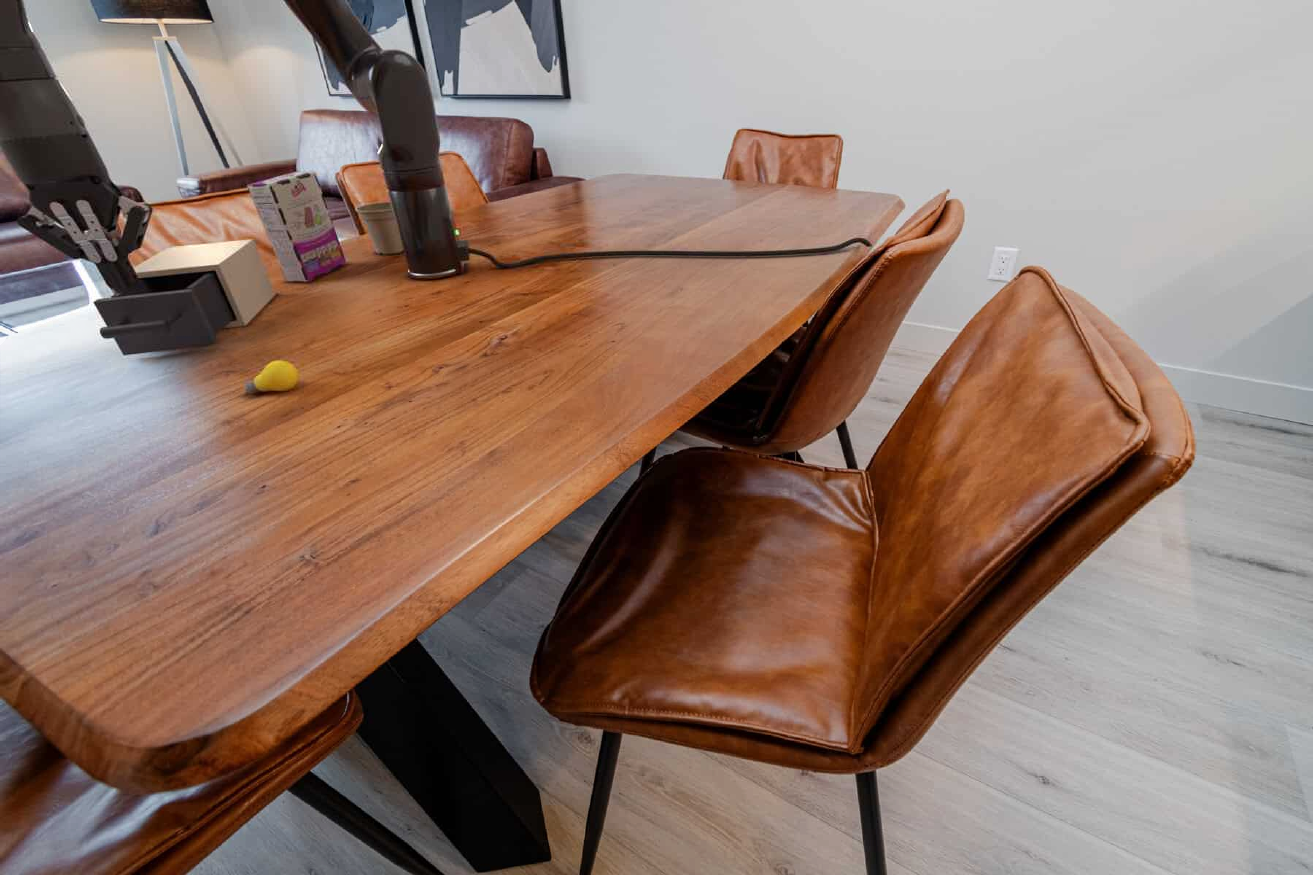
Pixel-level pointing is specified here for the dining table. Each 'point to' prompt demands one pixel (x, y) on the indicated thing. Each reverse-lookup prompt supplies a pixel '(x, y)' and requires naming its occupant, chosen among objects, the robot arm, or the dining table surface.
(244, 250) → the cabinet
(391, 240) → the flower pot
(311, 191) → the candy bar box
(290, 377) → the light bulb
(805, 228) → the dining table surface
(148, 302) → the drawer
